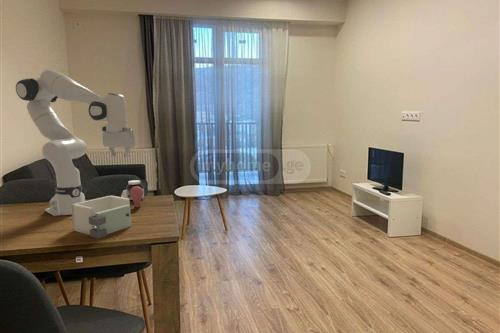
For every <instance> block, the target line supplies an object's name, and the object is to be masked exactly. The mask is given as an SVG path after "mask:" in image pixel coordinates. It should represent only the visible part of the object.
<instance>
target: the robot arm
mask: <svg viewBox="0 0 500 333" xmlns="http://www.w3.org/2000/svg"><path fill="white" fill-rule="evenodd" d="M15 93H16V94H17V95H16V96H18V98H20V99H21V101H22V100H23V101H26V102H27V101H28V102H27V104H26V109H27V112H28V114H29V116H30V118H31V121H33V123H34V125H35V126H36V128H37V129H38V131H39V132H40V134H41V135H42V136H43V137H44V138H47V139H48V140H50V141H48V142H46V143H44V145H43V146H42V149H41V151H42V152H41V153H42V156H43V157H44V159H45V160H47V161H48V162H49V163H50V164H51V165H52V167H53V169H54V172H55V179H56V185H57V186H56V187H55V194H54V196H52V198H51V199H50V200H49V202H48V205H49V207H47V208H45V212H46V213H48V214H50V215H51V216H53V217H56V216H68V215H71V216H72V206H71V204H75V203H80V202H84V201H86V198H85V194H84V193H83V192H82V191H83V186H82V184H81V176H80V175H81V174H80V169H78V168H77V167H75V164H74V163H73V162H74V161H73V159H74V160H75V159H78V158H81V157H82V156H84V155H85V154H86V153H87V151H88V146H87V143H86V142H85V141H84V140H83V139H81V138H79V137H77V136H76V135H74V134H73V133H72V131H70V130H69V129H68V128H67V127H66V126H65V124H63V122H62V121H61V119H60V118H59V117H58V114H56V112H55V111H54V109H53V108H52V106H51V103H55V102H56V101H57V100H58V99H59V98H60V99H61V100H65V101H67V102H76V103H78V102H79V103H85V104H89V106H88V114H89V117H90V118H91V119H92V120H93V121H97V122H107V123H106V124H105V125H104V126H102V127H101V132H102V135H101V136H102V139H101V140H102V144H103V146H104V147H107V148H108V149H109V152H110V155H111V157H116V156H117V152H116V151H115V148H122V149H124V153H123V158H129V156H130V151H131V149H135V147H136V145H137V143H136V138H135V133H134V130H133V129H132V128H131V127H129V124H128V119H127V118H128V117H127V114H128V113H127V112H128V111H127V110H128V109H127V102H126V98H125V96H124V95H123V94H120V93H116V92H115V93H113V92H109V93H106V95H104V96H102V95H100V94H98V93H96V92H94V91H92V90H91V89H88V88H87V87H86V86H84V85H82V84H80V83H78V82H77V81H75V80H74V79H72V78H71V77H69V76H68V75H66V74H63V73H62V72H60V71H57V70H53V69H49V68H48V69H45V70H43V71H42V72H41V73H40V76H39V77H35V78H25V79H24V78H23V79H21V80H18V81H17V82H16V85H15Z"/></svg>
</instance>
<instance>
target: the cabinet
mask: <svg viewBox="0 0 500 333" xmlns="http://www.w3.org/2000/svg"><path fill="white" fill-rule="evenodd" d="M123 205H130V206H131V201H130V199H128V198H122V197H121V196H116V195H106V196H102V197H97V198H94V199H89V200H85V201H84V202H80V203H75V204H71V206H72V214H71V217H72V227H73V231H74V232H78V233H81V234H84V235H86V236H87V235H88V236H89V237H91V238H94V239H102V238H105V237H107V236H108V234H107V229H102V230H99V231H96V226H99V225H102V224H105V223H106V216H103V217H99V218H95V213H97V212H101V211H105V210H108V209H112V208H116V207H120V206H123Z"/></svg>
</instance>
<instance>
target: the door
mask: <svg viewBox="0 0 500 333" xmlns="http://www.w3.org/2000/svg"><path fill="white" fill-rule="evenodd" d="M131 214H132V213H131V204H130V205H123V206H120V207H116V208H112V209H108V210H105V211H101V212H97V213H95V218H99V217H103V216H106V223H105V224H102V225H99V226H96V231H99V230H102V229H107V235H109V234H112V233H115V232H118V231H122V230H124V229H127V228H131V227H132V215H131Z"/></svg>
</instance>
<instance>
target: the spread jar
mask: <svg viewBox="0 0 500 333" xmlns="http://www.w3.org/2000/svg"><path fill="white" fill-rule="evenodd" d="M135 186H139V187H141V188H142V189H143V196H142V198H141V201H142V200H143V199H144V196H145V193H144V192H145V190H144V186H143V185H142V184H141V180H140V179H139V180H137V179H133V180H128V185H127V186H126V188H125V189H123V191H122V192H121V195H120V197H122V198H128V199H130V202H133V199H132V197H131V196H130V190H131V189H132V188H133V187H135Z"/></svg>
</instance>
